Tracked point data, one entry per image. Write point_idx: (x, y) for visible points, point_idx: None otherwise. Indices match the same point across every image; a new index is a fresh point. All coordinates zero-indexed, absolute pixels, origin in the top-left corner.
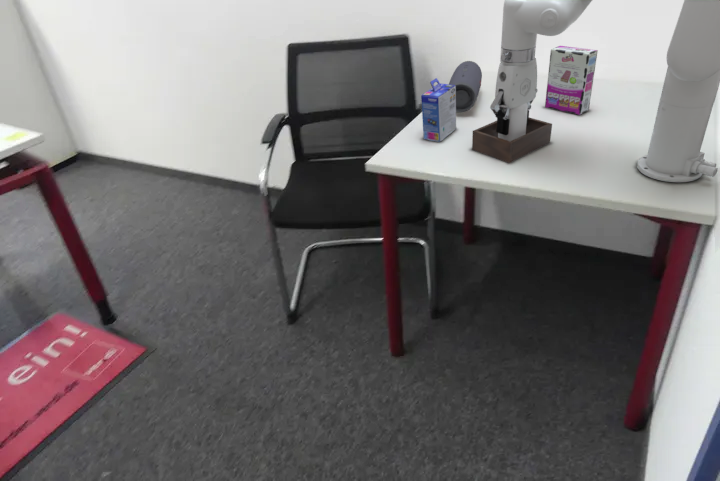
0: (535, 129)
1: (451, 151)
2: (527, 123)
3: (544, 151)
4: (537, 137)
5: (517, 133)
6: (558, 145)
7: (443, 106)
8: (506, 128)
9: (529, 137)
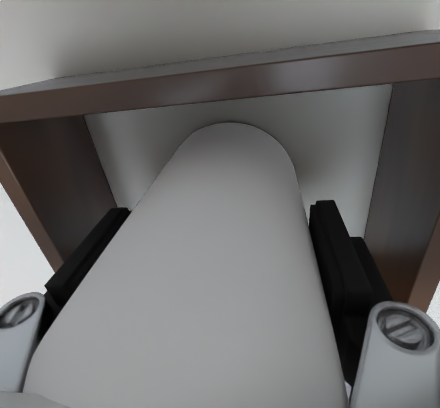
0: (69, 182)
1: (434, 300)
2: (110, 214)
3: (141, 10)
4: (137, 73)
5: (259, 166)
6: (28, 18)
7: None
8: (343, 235)
9: (227, 65)
